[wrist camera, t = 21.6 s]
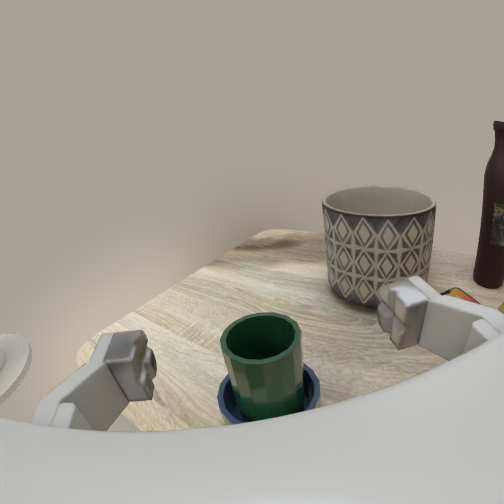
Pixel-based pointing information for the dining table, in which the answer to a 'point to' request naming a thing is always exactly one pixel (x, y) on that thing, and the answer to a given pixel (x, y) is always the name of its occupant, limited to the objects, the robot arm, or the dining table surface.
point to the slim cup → (265, 365)
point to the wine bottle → (492, 218)
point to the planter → (376, 238)
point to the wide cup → (230, 404)
